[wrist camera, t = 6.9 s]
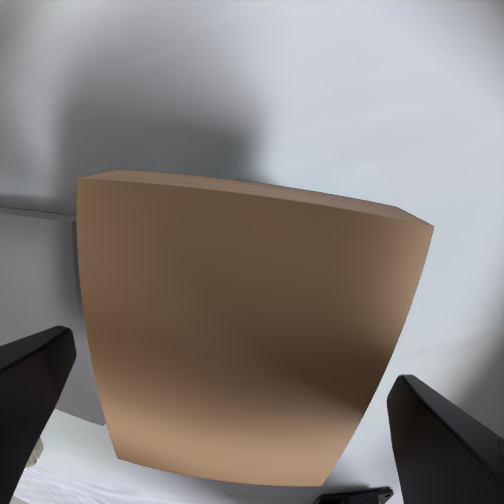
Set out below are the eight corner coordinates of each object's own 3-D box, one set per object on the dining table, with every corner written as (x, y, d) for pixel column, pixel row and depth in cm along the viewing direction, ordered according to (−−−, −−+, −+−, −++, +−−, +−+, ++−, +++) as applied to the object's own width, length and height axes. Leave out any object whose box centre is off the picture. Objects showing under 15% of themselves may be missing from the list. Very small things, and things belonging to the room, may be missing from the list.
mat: (109, 414, 16) (103, 425, 15) (-5, 368, 16) (-12, 376, 15) (84, 216, 12) (72, 222, 11) (-41, 202, 12) (-53, 206, 11)
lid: (316, 444, 10) (321, 486, 8) (133, 419, 10) (117, 458, 8) (396, 206, 7) (434, 226, 5) (118, 169, 7) (77, 177, 5)
